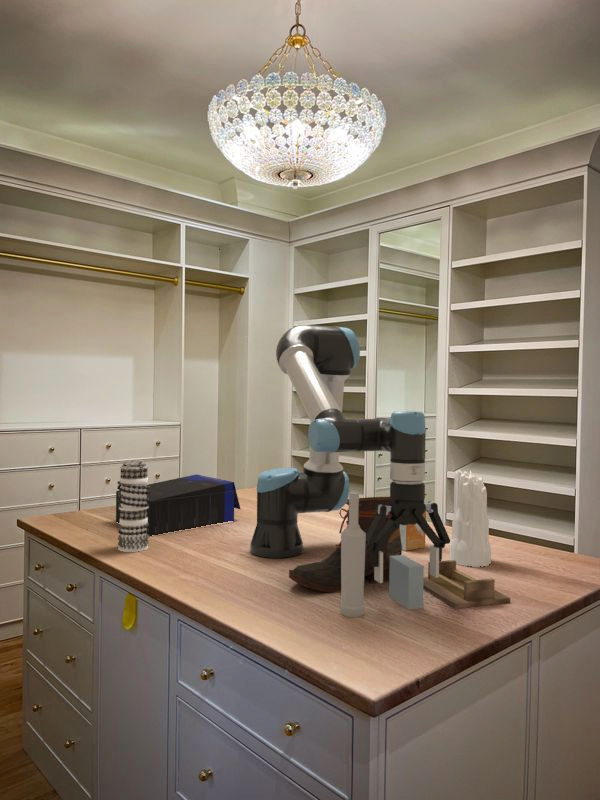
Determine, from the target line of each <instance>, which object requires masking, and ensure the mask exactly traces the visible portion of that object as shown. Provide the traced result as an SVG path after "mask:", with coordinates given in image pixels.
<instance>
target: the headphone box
mask: <svg viewBox="0 0 600 800" xmlns="http://www.w3.org/2000/svg"><path fill="white" fill-rule="evenodd" d="M147 486H150V489H147V491H149V492H150V494H147V497H148V498H149V499H150V500H149V501H148V502H147V503H148V504H149V508H147V517H148V523H149V526H148V527H147V528H148V529H149V532H147V534H148V535H150V536H151V537H153V536H152V535H158V534H163V533H168V532H174V531H179V530H185V529H191V528H196V527H201V526H206V525H211V524H217V523H223V522H228V521H234V522H235V509H237V510H241V505H240V502H239V501H240V500H239V497H238V493H237V489H236V484H235V481H230V480H225V479H220V478H216V477H211V476H205V475H201V474H192V475H191V474H190V475H187V476H182V477H177V478H173V479H167V480H163V481H158V482H155V483H149V484H148V483H147ZM119 492H120V491H119V490H116V491H115V523H116V522H118V523H120V509H119V505H120V504H121V503H119V502H118V498H119V496H118V493H119ZM163 535H164V534H163ZM150 536H149V537H150ZM158 536H159V535H158Z"/></svg>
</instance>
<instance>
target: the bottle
mask: <svg viewBox="0 0 600 800" xmlns="http://www.w3.org/2000/svg"><path fill="white" fill-rule="evenodd" d="M359 498H360V492H357V491H349V496H348V503H349V506H348V510H349V524H348V525H347V524H346V527H345V528H344V529H345V530H344V529H343V530H342V531H341V533H340V542H341V591H340V595H341V597H340V598H341V599H340V602H339V610H340V611H339V612H340V614H341V615H342V616H345V617H348V618H359V617H362V616H364V614H365V607H366V606H365V602H364V593H365V580H364V570H365V542H366V533H365V532H364V531H363V530H362V529H361V528H360V525H359V524H358V507H359Z"/></svg>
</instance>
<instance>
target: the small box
mask: <svg viewBox="0 0 600 800" xmlns="http://www.w3.org/2000/svg"><path fill="white" fill-rule="evenodd" d="M422 516H423V517H424V518H425V520H426V521H427V511H426V510H425V512H424V513H423V515H422ZM400 536H401V544H402V551H405V552H406V551H411V550H419V549H425V548H426V534H425V533H424V531H423V530H422V529H421V528H420V526H419V525H418V524H417V523H416V524H415V525H412V524H408V525H401V524H400ZM424 547H425V548H424ZM418 548H419V549H418Z"/></svg>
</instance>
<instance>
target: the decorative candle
mask: <svg viewBox="0 0 600 800" xmlns="http://www.w3.org/2000/svg"><path fill="white" fill-rule="evenodd" d="M119 468H120V477H119V481H117V484H118V485H117V490H118V491H120V492H119V493H118V496H119V498H118V502H119V503H121V504H120V505H119V509H120V524H117V528H119V529H118V531H117V533H118V534H119V535H118V537H117V540H118V543H117V546H118V551H119V550H120V552H122V551H123V553H138V551H139V552H143V550H144V551H146V550H148V549H149V542H150V540H149V539H150V536H149V535H148V534H147V532H149V529H148V528H147V527H148V526H149V523H148V517H147V508H149V504H148V503H147V502H148V501H149V500H150V499H149V498H148V497H147V494H150V492H149V491H147V489H150V486H147V485H148V482H149V477H148V468H149V465H147V464H146V462H145V461H144V460H129V461H125V462H123V463H122V465H121V466H119Z"/></svg>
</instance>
